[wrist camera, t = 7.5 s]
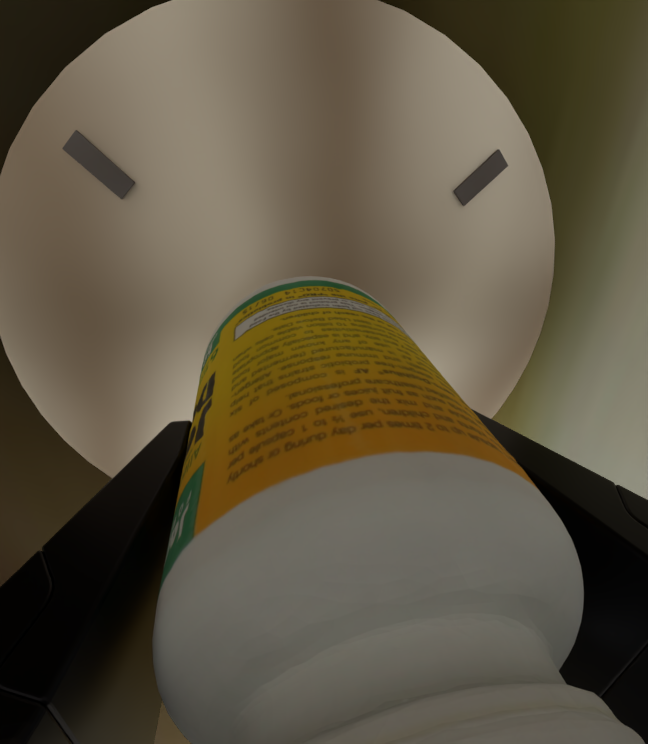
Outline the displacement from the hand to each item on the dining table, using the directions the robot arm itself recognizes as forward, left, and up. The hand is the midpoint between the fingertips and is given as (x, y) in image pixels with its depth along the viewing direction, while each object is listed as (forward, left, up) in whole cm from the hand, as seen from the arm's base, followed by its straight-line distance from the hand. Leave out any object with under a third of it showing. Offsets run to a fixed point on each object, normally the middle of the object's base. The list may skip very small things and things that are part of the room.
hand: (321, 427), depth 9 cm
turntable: (0, 0, -5) cm, 5 cm away
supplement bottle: (0, 0, -3) cm, 3 cm away
